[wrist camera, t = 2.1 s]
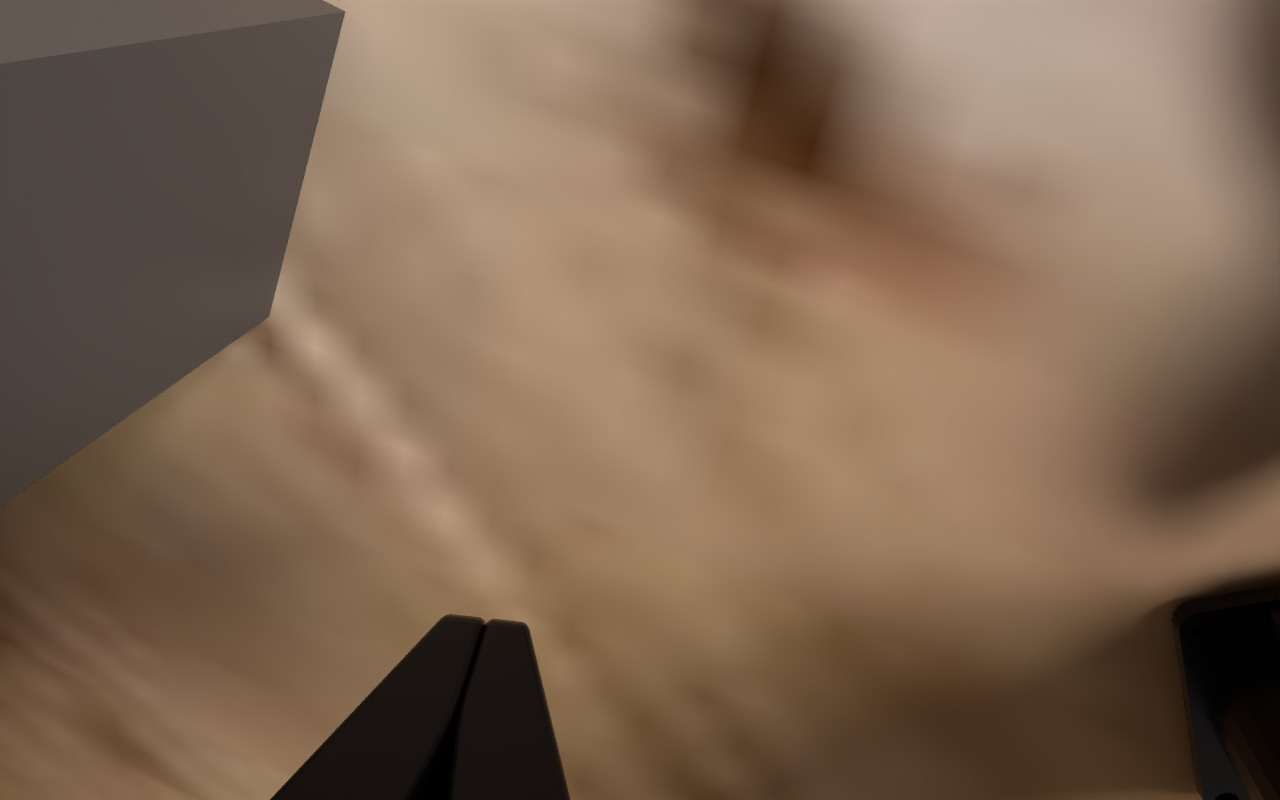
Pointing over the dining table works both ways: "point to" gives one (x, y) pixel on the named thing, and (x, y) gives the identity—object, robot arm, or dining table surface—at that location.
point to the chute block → (141, 199)
